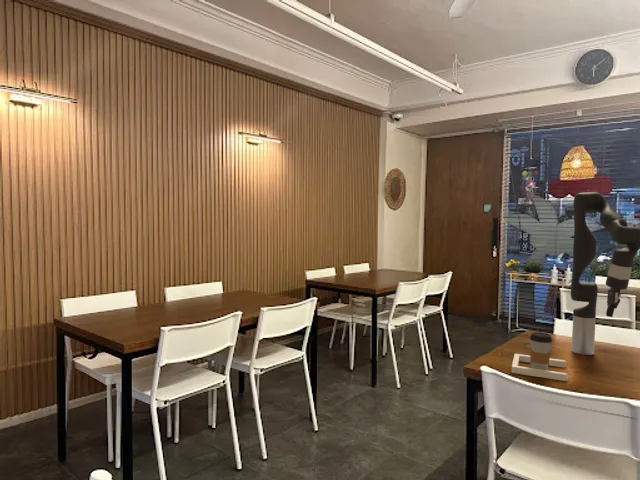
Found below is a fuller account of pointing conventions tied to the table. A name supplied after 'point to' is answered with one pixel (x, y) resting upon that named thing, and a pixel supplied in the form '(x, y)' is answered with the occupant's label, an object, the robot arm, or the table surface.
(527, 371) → the frame
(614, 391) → the table surface
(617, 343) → the table surface
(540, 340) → the coffee cup
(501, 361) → the table surface
